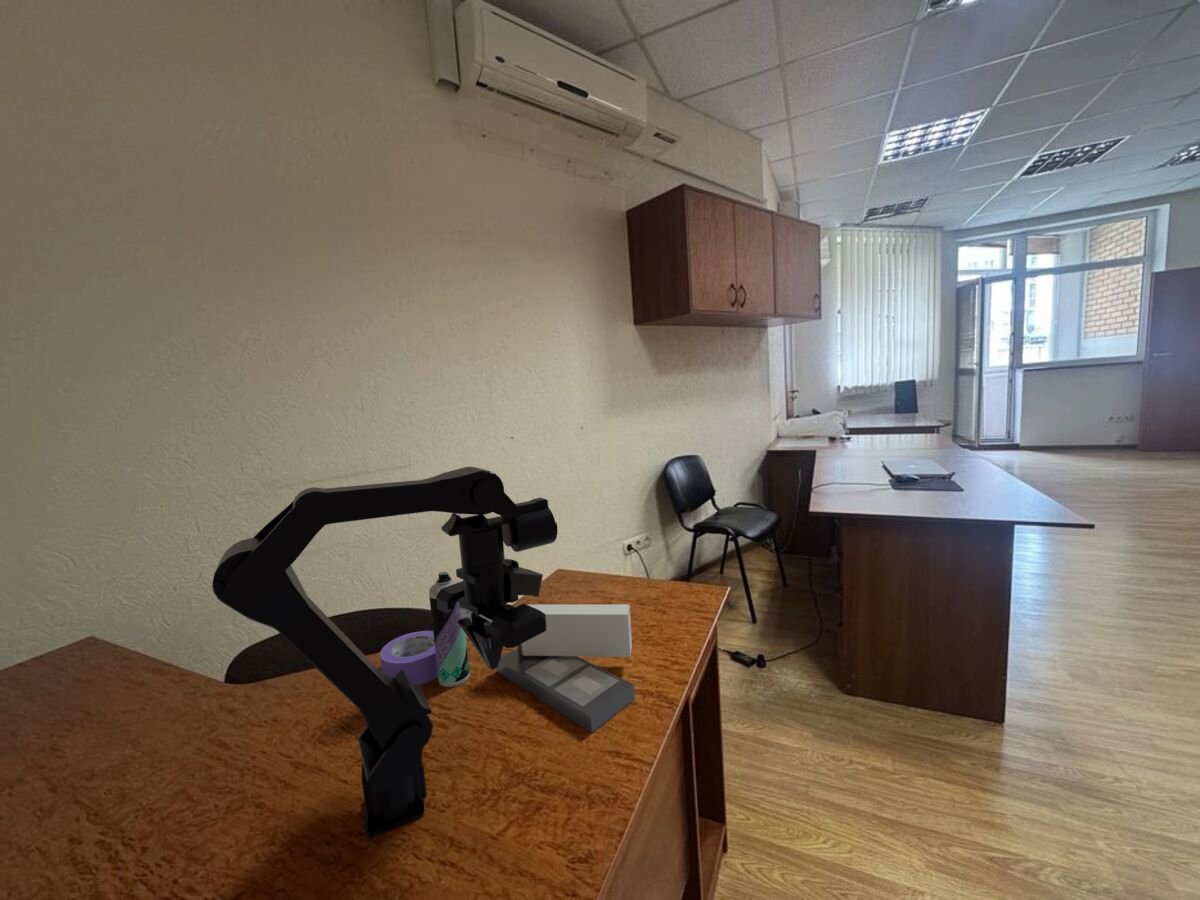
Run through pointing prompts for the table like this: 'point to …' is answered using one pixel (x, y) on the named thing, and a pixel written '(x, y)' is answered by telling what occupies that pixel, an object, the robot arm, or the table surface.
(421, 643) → the tape roll
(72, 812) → the table surface
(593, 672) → the server tray
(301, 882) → the table surface
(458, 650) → the spray can
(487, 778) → the table surface
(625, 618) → the upright grey slab
